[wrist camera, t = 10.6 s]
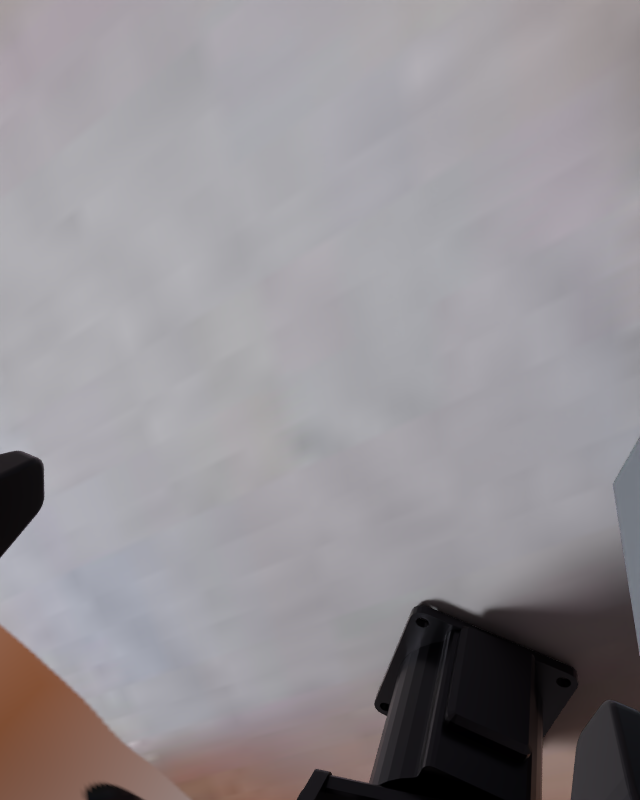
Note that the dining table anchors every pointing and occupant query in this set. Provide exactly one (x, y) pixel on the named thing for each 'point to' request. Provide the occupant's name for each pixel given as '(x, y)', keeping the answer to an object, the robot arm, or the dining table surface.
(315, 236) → the dining table surface
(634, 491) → the cabinet
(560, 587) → the dining table surface
